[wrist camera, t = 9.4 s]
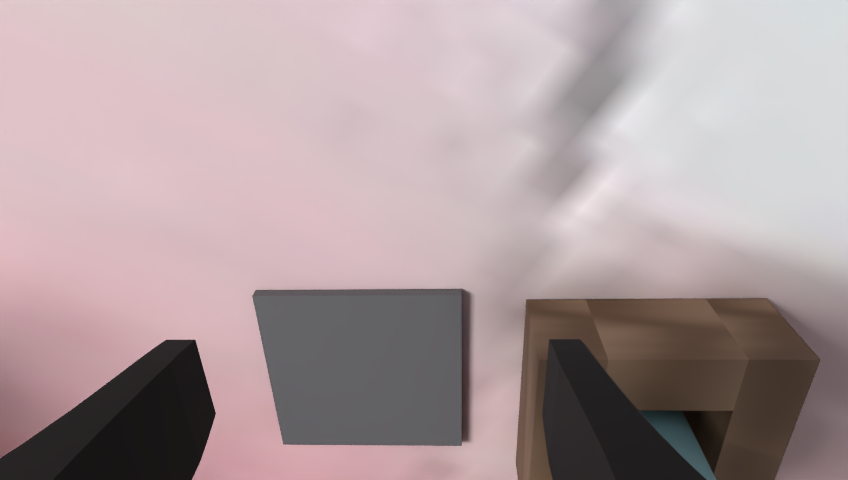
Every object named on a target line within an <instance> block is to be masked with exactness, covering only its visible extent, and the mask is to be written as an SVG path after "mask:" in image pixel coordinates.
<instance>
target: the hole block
mask: <svg viewBox="0 0 848 480" xmlns="http://www.w3.org/2000/svg"><path fill="white" fill-rule="evenodd" d="M549 339H580V340H581V341H582V342H583V343H584V344H585V345H586V346H587V347H588V349H589V350H590V351H591V353H592V354H593V355H594V357H595V358H596V359H597V360H598V362H599V363H600V364H601V366H602V367H603V368H604V369H605V371H606V372H607V373H608V374H609V376H610V377H611V378H612V379H613V381H614V382H615V383H616V384H617V386H618V387H619V388H620V389H621V390H622V392H623V393H624V394H625V395H626V396H627V398H628V399H629V400H630V401H631V402H632V403H633V404H634V405H635V407H636V408H637V409H638V410H674V411H683V413H684V415H685V417H686V419H687V421H688V423H689V425H690V427H691V429H692V431H693V433H694V435H695V437H696V439H697V442H698V444H699V446H700V448H701V450H702V452H703V454H704V456H705V458H706V460H707V462H708V464H709V466H710V468H711V470H712V472H713V474H714V476H715V478H716V480H774V479H775V477H776V474H777V472H778V469H779V466H780V464H781V461H782V458H783V456H784V453H785V451H786V448H787V445H788V443H789V440H790V438H791V435H792V432H793V430H794V427H795V424H796V422H797V419H798V417H799V414H800V411H801V409H802V406H803V404H804V401H805V398H806V396H807V393H808V390H809V388H810V385H811V383H812V380H813V377H814V375H815V372H816V370H817V367H818V364H819V362H820V359H819V358H818V356H817V355H816V354H815V353H814V352H813V351H812V350H811V348H810V347H809V346H808V345H807V344H806V343H805V342H804V340H803V339H802V338H801V337H800V336H799V335H798V334H797V332H796V331H795V330H794V329H793V328H792V327H791V326H790V324H789V323H788V322H787V321H786V320H785V319H784V318H783V316H782V315H781V314H780V313H779V312H778V311H777V310H776V309H775V307H774V306H773V305H772V304H771V303H770V302H769V301H768V299H767V298H764V299H567V300H526V315H525V330H524V345H523V361H522V376H521V392H520V407H519V422H518V438H517V453H516V467H517V475H518V480H553V479H552V475H551V470H550V466H549V462H548V455H547V448H546V441H545V433H544V425H543V418H542V412H543V401H544V390H545V379H546V368H547V357H548V346H549Z"/></svg>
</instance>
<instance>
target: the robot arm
mask: <svg viewBox="0 0 848 480" xmlns="http://www.w3.org/2000/svg"><path fill="white" fill-rule="evenodd" d="M215 414H216V413H215V409H214V406H213V402H212V399H211V395H210V391H209V388H208V384H207V381H206V377H205V373H204V370H203V366H202V363H201V359H200V355H199V352H198V348H197V345H196V341H195V340H165V341H164V342H163V343H161V344H160V345H158V346H157V347H155V348H154V349H152V350H151V351H150V352H148V353H147V354H145V355H144V356H143V357H141V358H140V359H139V360H137V361H136V362H135V363H133V364H132V365H131V366H129V367H128V368H127V369H126V370H124V371H123V372H122V373H120V374H119V375H118V376H116V377H115V378H114V379H112V380H111V381H110V382H108V383H107V384H106V385H104V386H103V387H102V388H100V389H99V390H98V391H96V392H95V393H94V394H92V395H91V396H90V397H88V398H87V399H86V400H84V401H83V402H82V403H80V404H79V405H78V406H76V407H75V408H73V409H72V410H71V411H69V412H68V413H66V414H65V415H63V416H62V417H61V418H59V419H58V420H56V421H55V422H53V423H52V424H50V425H49V426H48V427H46V428H45V429H43V430H42V431H40V432H39V433H38V434H36V435H35V436H33V437H32V438H30V439H29V440H28V441H26V442H25V443H23V444H22V445H20V446H19V447H17V448H16V449H14V450H13V451H11V452H10V453H8V454H6V455H5V456H3V457H2V458H0V480H192V478H193V476H194V474H195V471H196V469H197V467H198V465H199V463H200V460H201V458H202V455H203V452H204V449H205V446H206V443H207V440H208V437H209V434H210V431H211V427H212V424H213V421H214V418H215ZM542 418H543V425H544V433H545V441H546V448H547V455H548V462H549V466H550V470H551V475H552V479H553V480H707V479H705V478H704V477H703V476H702V475H701V474H700V473H699V472H698V471H697V470H696V469H695V468H694V467H693V466H692V465H691V464H690V463H688V462H687V461H686V460H685V459H684V458H683V457H682V456H681V455H680V454H679V453H678V452H677V451H676V450H675V449H674V448H673V447H672V446H671V445H670V443H669V442H668V441H667V440H666V439H665V438H664V437H663V436H662V435H661V434H660V433H659V432H658V431H657V430H656V429H655V428H654V427H653V426H652V425H651V423H650V422H649V421H648V420H647V419H646V418H645V417H644V416H643V415H642V413H641V412H640V411H639V410H638V409H637V408H636V407H635V405H634V404H633V403H632V402H631V401H630V400H629V399H628V398H627V396H626V395H625V394H624V393H623V392H622V390H621V389H620V388H619V387H618V386H617V384H616V383H615V382H614V381H613V379H612V378H611V377H610V376H609V374H608V373H607V372H606V371H605V369H604V368H603V367H602V366H601V364H600V363H599V362H598V360H597V359H596V358H595V357H594V355H593V354H592V353H591V351H590V350H589V349H588V347H587V346H586V345H585V344H584V343H583V342H582V341H581V340H580V339H549V346H548V357H547V368H546V379H545V390H544V401H543V412H542Z"/></svg>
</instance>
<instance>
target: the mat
mask: <svg viewBox="0 0 848 480" xmlns="http://www.w3.org/2000/svg"><path fill="white" fill-rule="evenodd" d="M253 301H254V306H255V310H256V315H257V320H258V325H259V330H260V334H261V339H262V344H263V349H264V354H265V358H266V363H267V368H268V373H269V377H270V382H271V387H272V392H273V397H274V401H275V406H276V411H277V416H278V421H279V425H280V430H281V435H282V440H283V444H291V445H432V446H462V292H461V289H409V290H256V291H255V293H254V294H253Z"/></svg>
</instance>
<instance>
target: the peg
mask: <svg viewBox="0 0 848 480" xmlns="http://www.w3.org/2000/svg"><path fill="white" fill-rule="evenodd" d="M639 411H640V412H641V413H642V415H643V416H644V417H645V418H646V419H647V420H648V421H649V422H650V423H651V425H652V426H653V427H654V428H655V429H656V430H657V431H658V432H659V433H660V434H661V435H662V436H663V437H664V438H665V439H666V440H667V441H668V442H669V443H670V445H671V446H672V447H673V448H674V449H675V450H676V451H677V452H678V453H679V454H680V455H681V456H682V457H683V458H684V459H685V460H686V461H687V462H688V463H690V464H691V465H692V466H693V467H694V468H695V469H696V470H697V471H698V472H699V473H700V474H701V475H702V476H703V477H704V478H705V479H707V480H716V478H715V476H714V474H713V472H712V470H711V468H710V466H709V464H708V462H707V460H706V458H705V456H704V454H703V452H702V450H701V448H700V446H699V444H698V442H697V439H696V437H695V435H694V433H693V431H692V429H691V427H690V425H689V423H688V421H687V419H686V417H685V415H684V413H683V411H674V410H639Z"/></svg>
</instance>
